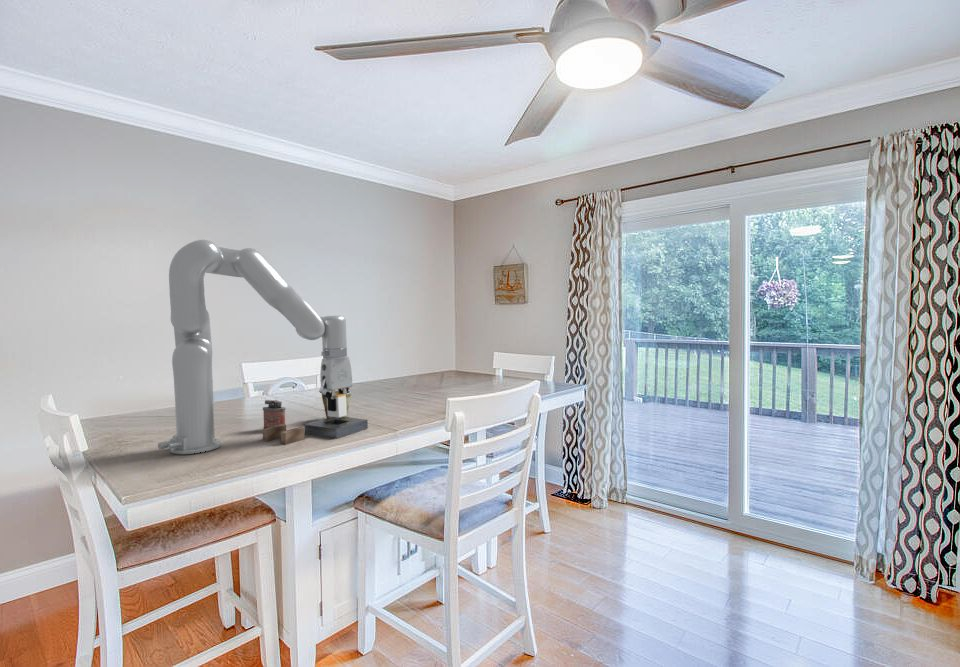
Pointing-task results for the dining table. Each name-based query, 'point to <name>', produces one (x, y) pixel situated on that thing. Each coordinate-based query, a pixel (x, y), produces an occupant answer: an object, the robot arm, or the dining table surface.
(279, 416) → the lighter
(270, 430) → the holster
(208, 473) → the dining table surface
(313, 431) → the port block
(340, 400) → the white orange-topped block
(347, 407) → the green plant pot
